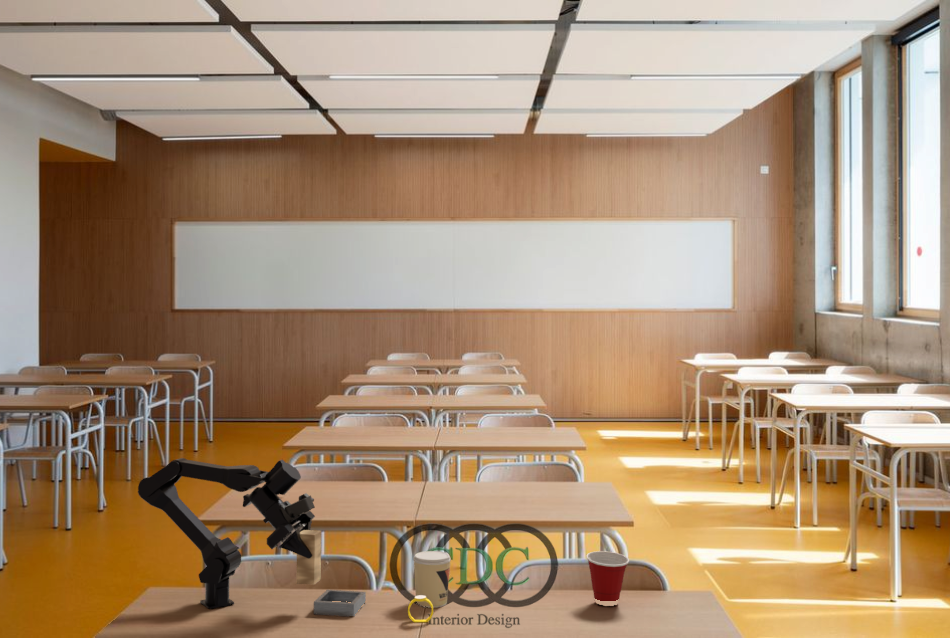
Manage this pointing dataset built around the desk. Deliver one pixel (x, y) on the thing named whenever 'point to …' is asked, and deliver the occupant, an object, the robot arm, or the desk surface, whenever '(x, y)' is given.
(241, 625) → the desk surface
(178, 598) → the desk surface
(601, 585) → the plastic cup
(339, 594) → the grey square tray
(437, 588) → the coffee cup
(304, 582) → the rectangular block
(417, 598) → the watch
